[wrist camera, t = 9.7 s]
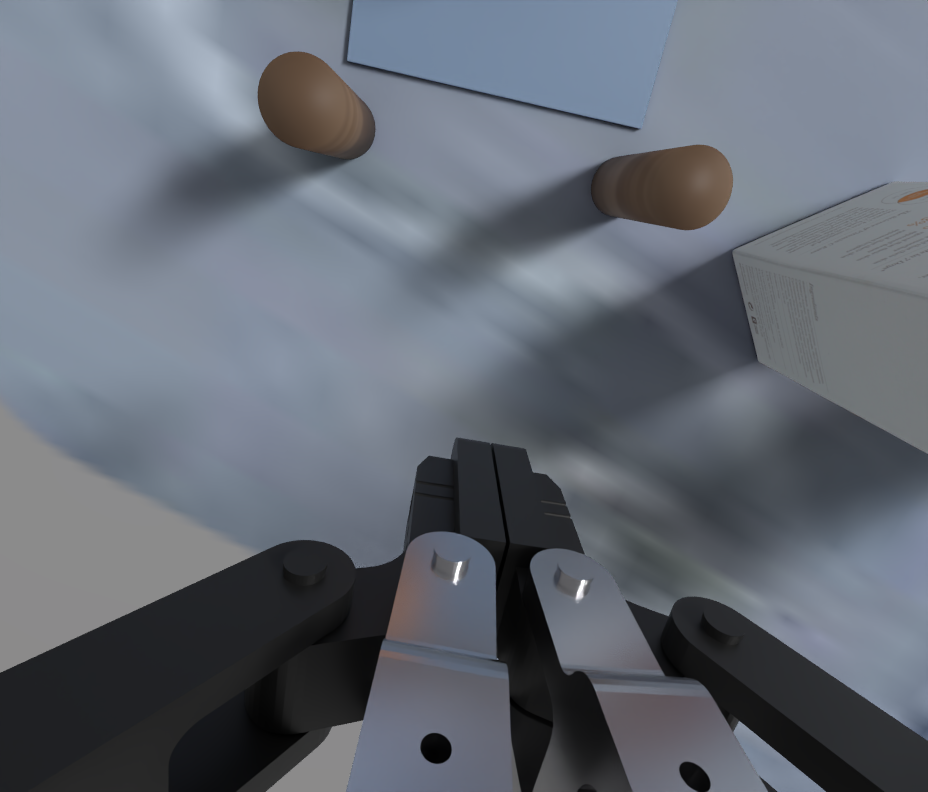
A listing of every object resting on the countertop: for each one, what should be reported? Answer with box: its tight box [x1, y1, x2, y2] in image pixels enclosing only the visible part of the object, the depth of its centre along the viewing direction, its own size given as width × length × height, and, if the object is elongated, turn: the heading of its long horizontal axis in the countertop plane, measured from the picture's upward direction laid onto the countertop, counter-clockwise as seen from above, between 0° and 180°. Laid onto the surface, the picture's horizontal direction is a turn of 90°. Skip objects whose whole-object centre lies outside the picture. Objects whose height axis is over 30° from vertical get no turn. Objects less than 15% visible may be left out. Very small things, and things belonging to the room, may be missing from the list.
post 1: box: [258, 52, 375, 159], centre depth 20 cm, size 3×3×8 cm
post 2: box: [591, 145, 733, 230], centre depth 22 cm, size 3×3×8 cm
